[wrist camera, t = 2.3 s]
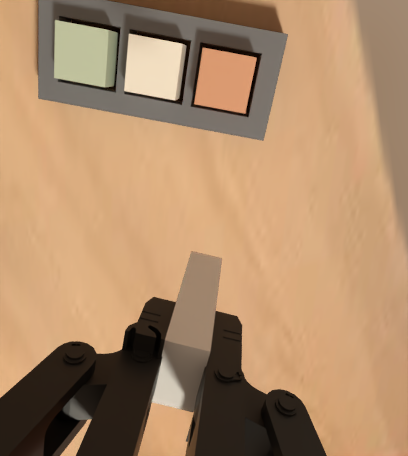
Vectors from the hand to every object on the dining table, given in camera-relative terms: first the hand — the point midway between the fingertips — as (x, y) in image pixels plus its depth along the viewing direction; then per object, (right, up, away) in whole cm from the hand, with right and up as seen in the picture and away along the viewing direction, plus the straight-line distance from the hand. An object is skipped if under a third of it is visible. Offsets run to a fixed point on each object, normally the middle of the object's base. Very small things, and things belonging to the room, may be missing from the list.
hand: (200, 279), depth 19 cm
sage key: (-9, +16, +12) cm, 23 cm away
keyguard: (-3, +16, +14) cm, 21 cm away
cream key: (-3, +15, +12) cm, 20 cm away
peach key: (+2, +14, +12) cm, 19 cm away
